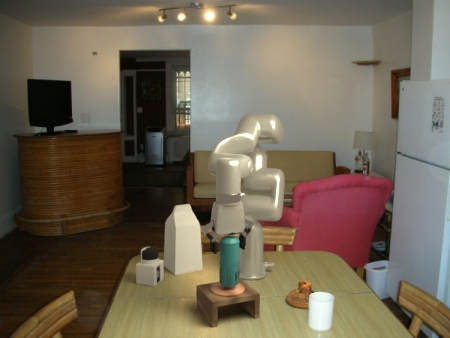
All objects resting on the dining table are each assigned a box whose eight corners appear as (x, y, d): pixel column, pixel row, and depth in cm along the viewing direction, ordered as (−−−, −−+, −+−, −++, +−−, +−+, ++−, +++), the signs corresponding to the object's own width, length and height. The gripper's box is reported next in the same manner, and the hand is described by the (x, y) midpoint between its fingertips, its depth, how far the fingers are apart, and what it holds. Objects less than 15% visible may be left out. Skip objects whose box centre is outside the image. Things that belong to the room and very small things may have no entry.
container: (164, 279, 181) (163, 246, 179) (154, 286, 174) (154, 252, 172) (146, 276, 184) (145, 244, 182) (135, 284, 177) (135, 250, 175)
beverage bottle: (237, 292, 149) (238, 230, 146) (216, 290, 150) (217, 228, 147) (241, 284, 155) (242, 224, 152) (221, 282, 157) (222, 223, 153)
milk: (175, 275, 186) (174, 209, 182) (163, 265, 195) (162, 203, 191) (202, 269, 192) (202, 206, 187) (190, 260, 201) (189, 200, 197)
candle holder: (320, 312, 155) (321, 291, 154) (283, 307, 159) (284, 286, 157) (322, 297, 166) (323, 277, 165) (288, 293, 170) (289, 274, 168)
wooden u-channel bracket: (240, 300, 163) (240, 276, 162) (259, 317, 151) (260, 292, 149) (196, 308, 157) (196, 283, 156) (212, 327, 144) (212, 300, 143)
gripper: (247, 192, 155) (247, 243, 158) (197, 197, 148) (198, 250, 151) (258, 197, 148) (257, 250, 151) (206, 203, 141) (207, 258, 144)
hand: (228, 250), depth 151 cm, fingers open, 9 cm apart
